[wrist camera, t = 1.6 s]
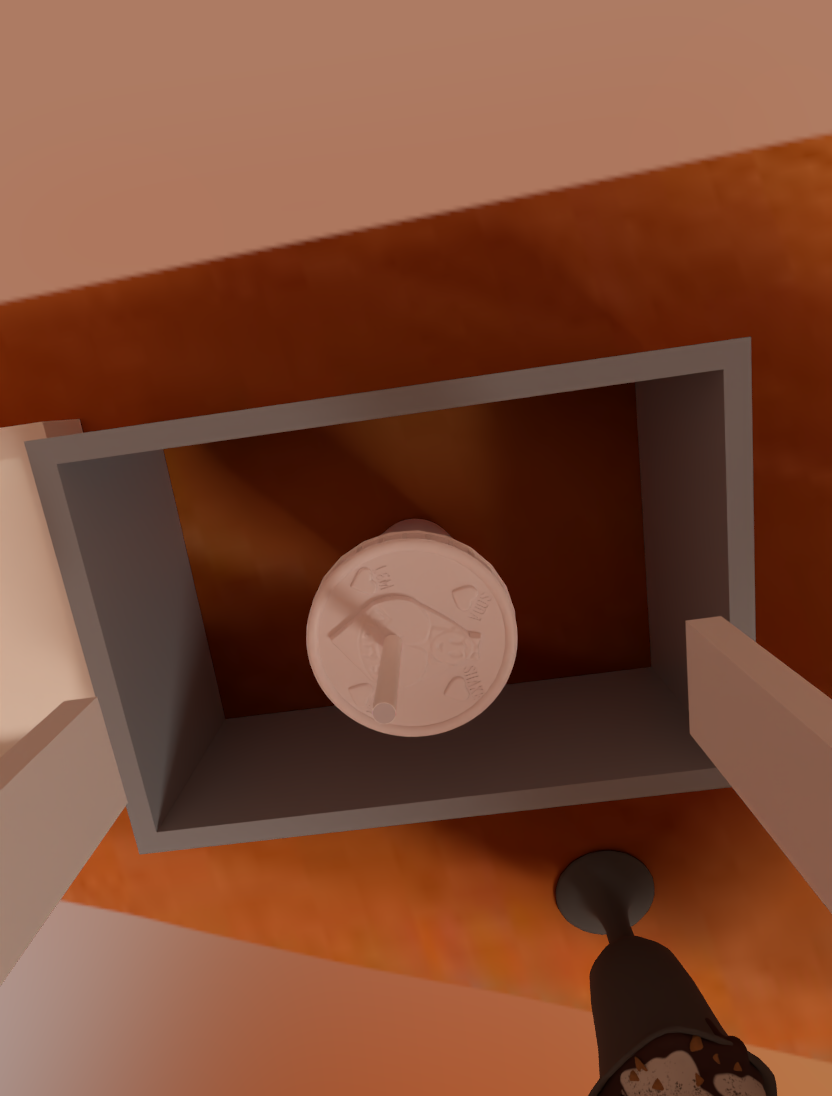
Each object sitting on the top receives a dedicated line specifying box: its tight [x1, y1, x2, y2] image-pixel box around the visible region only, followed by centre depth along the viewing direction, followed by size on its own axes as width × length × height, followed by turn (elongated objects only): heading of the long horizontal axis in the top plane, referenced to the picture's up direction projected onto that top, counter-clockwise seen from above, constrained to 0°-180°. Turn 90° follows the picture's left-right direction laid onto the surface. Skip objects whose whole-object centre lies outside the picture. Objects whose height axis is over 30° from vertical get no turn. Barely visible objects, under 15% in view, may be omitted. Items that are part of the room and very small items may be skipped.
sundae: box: [556, 850, 777, 1096], centre depth 25 cm, size 7×7×15 cm
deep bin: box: [24, 337, 756, 854], centre depth 24 cm, size 22×15×8 cm
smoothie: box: [306, 519, 518, 737], centre depth 21 cm, size 6×6×14 cm
